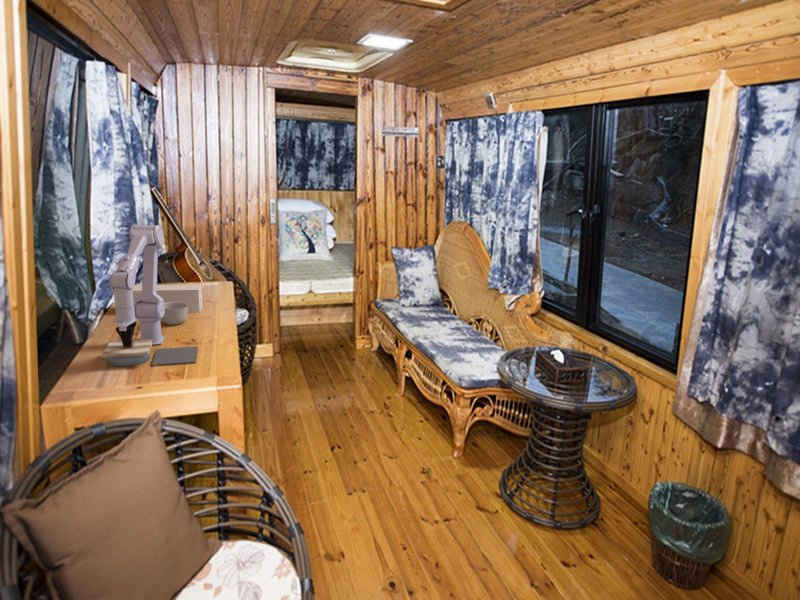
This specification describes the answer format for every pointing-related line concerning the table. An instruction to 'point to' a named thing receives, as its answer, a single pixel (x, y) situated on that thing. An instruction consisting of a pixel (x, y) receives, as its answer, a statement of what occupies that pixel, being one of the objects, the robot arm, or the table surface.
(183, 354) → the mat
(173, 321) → the teacup
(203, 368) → the table surface
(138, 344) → the lid
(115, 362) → the bowl
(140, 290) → the pale grey long block
